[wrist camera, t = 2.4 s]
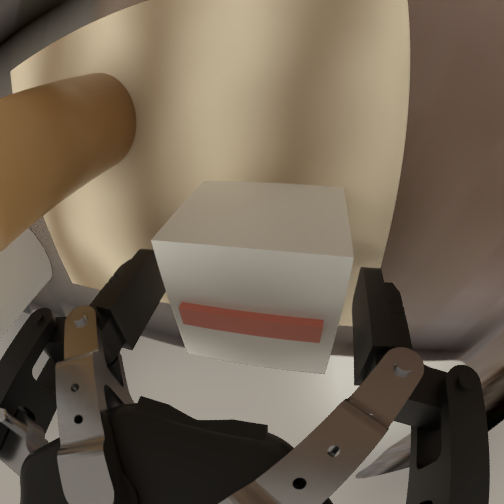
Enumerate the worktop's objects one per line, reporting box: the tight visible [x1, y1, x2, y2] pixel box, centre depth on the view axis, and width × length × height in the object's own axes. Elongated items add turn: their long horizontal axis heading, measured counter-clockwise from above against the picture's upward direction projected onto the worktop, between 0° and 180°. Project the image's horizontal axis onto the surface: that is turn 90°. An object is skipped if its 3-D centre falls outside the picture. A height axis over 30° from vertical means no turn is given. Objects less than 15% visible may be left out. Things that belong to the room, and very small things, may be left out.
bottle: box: [0, 73, 136, 252], centre depth 7 cm, size 5×5×10 cm
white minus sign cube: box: [151, 181, 354, 374], centre depth 11 cm, size 6×6×5 cm
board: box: [10, 0, 410, 326], centre depth 12 cm, size 20×16×2 cm
